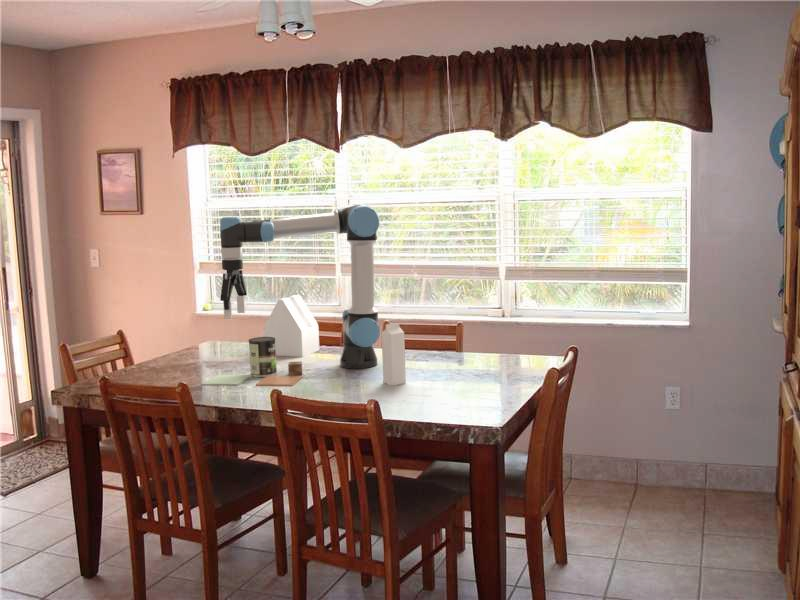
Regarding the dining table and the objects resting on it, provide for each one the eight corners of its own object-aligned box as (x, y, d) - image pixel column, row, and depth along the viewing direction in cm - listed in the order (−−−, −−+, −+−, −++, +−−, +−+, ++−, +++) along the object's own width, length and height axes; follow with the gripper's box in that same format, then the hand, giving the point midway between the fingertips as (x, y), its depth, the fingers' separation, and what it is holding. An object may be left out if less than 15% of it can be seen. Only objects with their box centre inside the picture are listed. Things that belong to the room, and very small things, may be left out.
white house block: (319, 350, 353) (316, 295, 350) (302, 357, 339) (299, 299, 336) (282, 348, 360) (279, 294, 357) (264, 354, 346) (261, 298, 343)
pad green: (251, 376, 304) (250, 375, 304) (237, 385, 290) (237, 383, 290) (216, 376, 306) (216, 374, 306) (202, 385, 293) (202, 383, 293)
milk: (405, 383, 286) (404, 323, 283) (392, 386, 282) (391, 325, 279) (396, 380, 291) (394, 321, 288) (382, 382, 287) (381, 323, 284)
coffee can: (280, 371, 312) (279, 336, 310) (271, 377, 302) (269, 341, 300) (256, 371, 314) (254, 336, 312) (246, 377, 304) (244, 341, 302)
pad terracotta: (303, 377, 301) (303, 375, 300) (292, 386, 287) (292, 384, 287) (268, 376, 303) (268, 375, 303) (255, 385, 289) (255, 384, 289)
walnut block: (302, 373, 307) (301, 361, 306) (301, 376, 302) (301, 363, 301) (289, 374, 306) (288, 361, 306) (288, 377, 302) (288, 364, 301)
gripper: (234, 256, 303) (237, 310, 306) (209, 261, 279) (212, 320, 281) (253, 256, 302) (255, 310, 305) (229, 261, 277) (232, 320, 280)
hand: (234, 315), depth 293 cm, fingers open, 13 cm apart
